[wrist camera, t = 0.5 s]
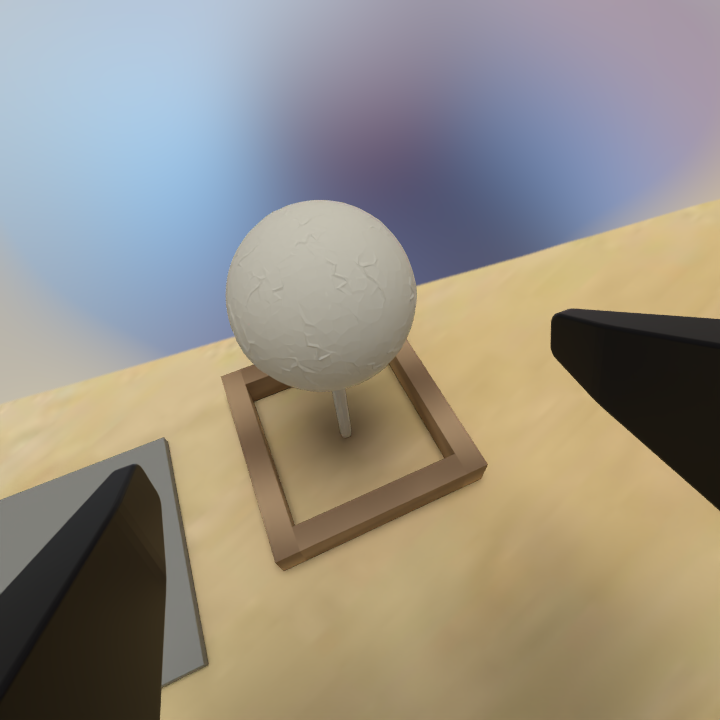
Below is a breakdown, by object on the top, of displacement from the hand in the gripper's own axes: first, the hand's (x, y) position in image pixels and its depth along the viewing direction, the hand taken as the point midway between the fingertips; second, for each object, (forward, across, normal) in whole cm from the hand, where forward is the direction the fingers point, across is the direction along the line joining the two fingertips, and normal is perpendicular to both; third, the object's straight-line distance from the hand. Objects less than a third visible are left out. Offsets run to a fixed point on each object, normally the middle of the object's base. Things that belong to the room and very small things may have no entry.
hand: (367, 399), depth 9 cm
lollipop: (+13, -1, +11) cm, 18 cm away
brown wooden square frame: (+13, -1, +11) cm, 17 cm away
